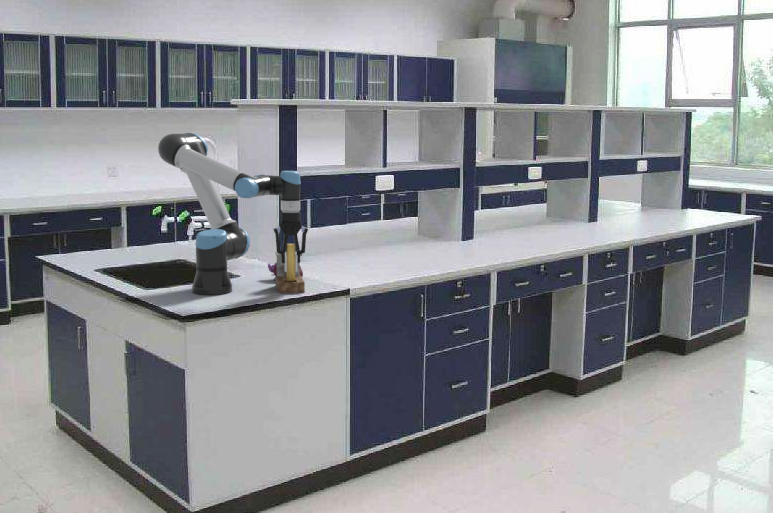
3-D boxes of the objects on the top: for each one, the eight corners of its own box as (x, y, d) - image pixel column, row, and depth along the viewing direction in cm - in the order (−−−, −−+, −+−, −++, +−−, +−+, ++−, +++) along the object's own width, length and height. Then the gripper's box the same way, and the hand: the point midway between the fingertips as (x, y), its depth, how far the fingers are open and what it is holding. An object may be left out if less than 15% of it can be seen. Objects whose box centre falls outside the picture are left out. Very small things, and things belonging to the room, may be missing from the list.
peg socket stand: (278, 293, 324) (278, 257, 321) (275, 285, 337) (275, 251, 335) (304, 292, 326) (304, 257, 324) (300, 285, 339) (300, 251, 337)
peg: (286, 279, 328) (286, 243, 326) (294, 279, 329) (294, 243, 327) (287, 280, 325) (286, 245, 323) (295, 280, 326) (295, 245, 323)
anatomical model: (303, 275, 357) (268, 270, 356) (305, 256, 353) (270, 250, 352) (299, 288, 347) (263, 282, 346) (302, 268, 343) (266, 262, 342)
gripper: (269, 212, 317) (270, 273, 321) (313, 212, 321) (313, 272, 324) (268, 210, 324) (268, 270, 328) (310, 210, 328) (310, 269, 332)
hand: (290, 271), depth 326 cm, fingers closed on peg, 3 cm apart
